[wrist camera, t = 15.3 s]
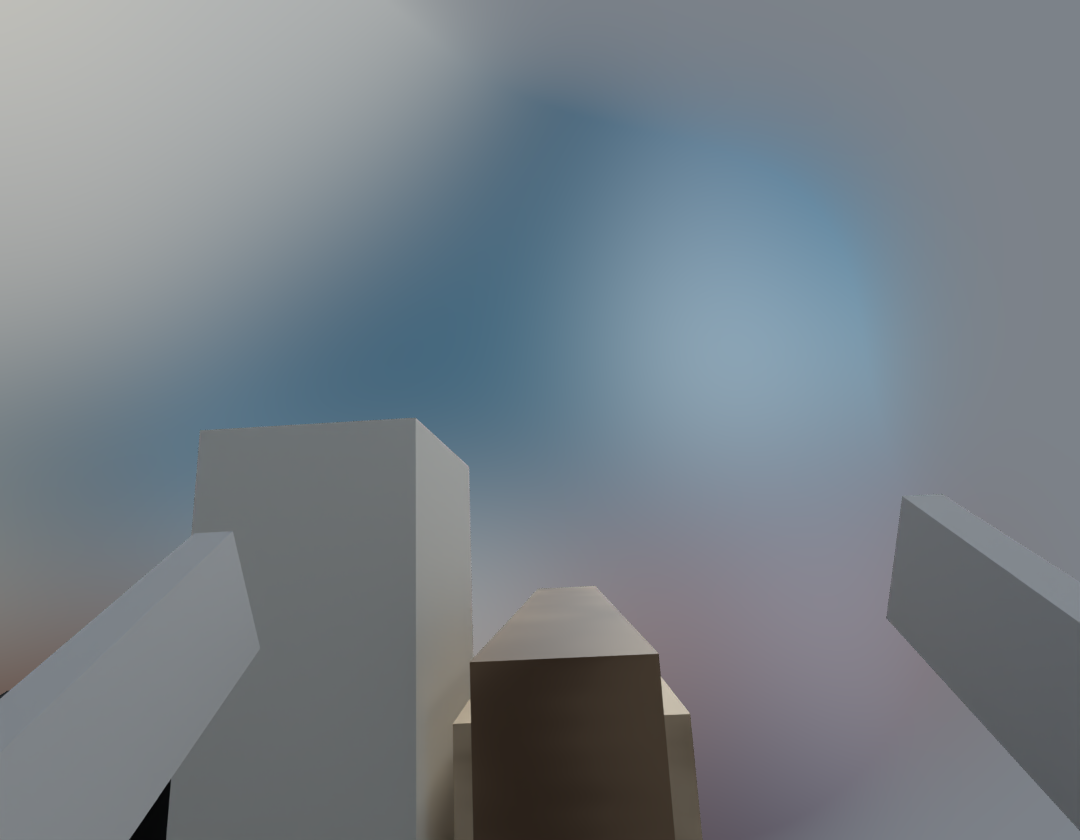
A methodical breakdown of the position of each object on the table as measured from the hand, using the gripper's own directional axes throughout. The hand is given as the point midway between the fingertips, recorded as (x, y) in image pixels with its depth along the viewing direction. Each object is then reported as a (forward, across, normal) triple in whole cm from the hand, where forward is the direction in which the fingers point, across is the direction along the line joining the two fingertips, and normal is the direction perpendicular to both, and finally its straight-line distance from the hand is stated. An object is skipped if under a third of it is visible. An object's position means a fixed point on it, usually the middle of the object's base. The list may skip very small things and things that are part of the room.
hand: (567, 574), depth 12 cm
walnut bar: (+8, 0, -11) cm, 13 cm away
